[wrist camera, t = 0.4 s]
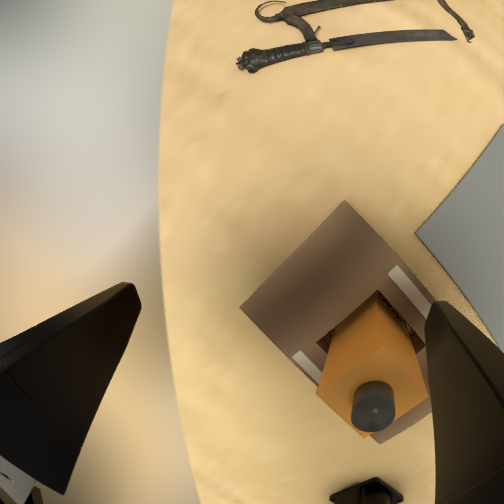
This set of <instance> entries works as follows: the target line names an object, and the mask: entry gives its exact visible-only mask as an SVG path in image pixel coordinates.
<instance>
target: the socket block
mask: <svg viewBox="0 0 504 504" xmlns="http://www.w3.org/2000/svg"><path fill="white" fill-rule="evenodd" d="M377 289H378V290H379V291H380V292H381V293H382V295H383V296H384V297H385V298H386V299H387V300H388V301H389V302H390V303H391V305H392V306H393V307H394V308H395V309H396V310H397V311H398V313H399V314H400V315H401V316H402V317H403V318H404V319H405V321H406V322H407V323H408V324H409V325H410V326H411V328H412V329H413V330H414V331H415V333H414V334H413V335H412V336H410V338H411V341H412V344H413V347H414V350H415V353H416V357H417V360H418V363H419V366H420V369H421V373H422V376H423V380H424V383H425V387H426V390H427V394H428V398H426V399H425V400H424V401H422V402H421V403H420V404H418V405H417V406H415V407H414V408H412V409H411V410H409V411H408V412H406V413H405V414H403V415H402V416H400V417H399V418H397V419H396V420H394V421H393V422H392V423H391V424H390V425H389V426H388V427H386V428H385V429H383V430H381V431H377V432H374V433H372V434H371V435H370V436H371V437H372V438H373V439H374V440H375V441H377V442H378V443H379V444H381V443H383V442H385V441H387V440H388V439H390V438H392V437H394V436H395V435H397V434H399V433H400V432H402V431H404V430H405V429H407V428H408V427H410V426H412V425H413V424H415V423H416V422H418V421H419V420H421V419H422V418H424V417H425V416H427V415H428V414H429V413H431V412H432V406H431V398H430V390H429V383H428V374H427V358H426V344H425V333H424V326H425V322H426V319H427V316H428V313H429V311H430V308H431V305H432V303H433V302H434V301H435V299H434V298H433V297H432V296H431V294H430V293H429V292H428V291H427V289H426V288H425V287H424V286H423V285H422V283H421V282H420V281H419V280H418V279H417V277H416V276H415V275H414V274H413V273H412V272H411V270H410V269H409V268H408V267H407V266H406V265H405V263H404V262H403V261H402V260H401V259H400V258H399V257H398V256H397V254H396V253H395V252H394V251H393V250H392V249H391V248H390V247H389V246H388V245H387V243H386V242H385V241H384V240H383V239H382V238H381V237H380V236H379V235H378V234H377V233H376V232H375V231H374V230H373V229H372V227H371V226H370V225H369V224H368V223H367V222H366V221H365V220H364V219H363V218H362V217H361V216H360V215H359V214H358V213H357V212H356V211H355V210H354V209H353V208H352V207H351V206H350V205H349V204H348V203H347V202H346V201H345V200H344V201H343V202H342V203H341V204H340V205H339V206H338V207H337V208H336V210H335V211H334V212H333V213H332V214H331V215H330V216H329V217H328V218H327V219H326V220H325V221H324V222H323V223H322V224H321V225H320V226H319V227H318V228H317V229H316V230H315V231H314V233H313V234H312V235H311V236H310V237H309V238H308V239H307V240H306V241H305V242H304V243H303V244H302V245H301V246H300V247H299V248H298V249H297V250H296V251H295V252H294V253H293V254H292V255H291V256H290V257H289V258H288V259H287V260H286V261H285V262H284V263H283V264H282V265H281V266H280V267H279V268H278V269H277V270H276V271H275V272H274V273H273V274H272V275H271V276H270V277H269V278H268V279H267V280H266V281H265V282H264V283H263V284H262V285H261V286H260V287H259V288H258V289H257V290H256V291H255V292H254V293H253V294H252V295H251V296H250V297H249V298H248V299H247V300H246V301H245V302H244V303H243V304H242V305H241V306H240V307H239V308H240V309H241V310H242V311H243V312H244V313H245V314H246V315H247V316H248V317H249V318H250V319H251V320H252V321H253V322H254V323H255V324H256V325H257V326H258V328H259V329H260V330H261V331H262V332H263V333H264V334H265V335H266V336H267V337H268V338H269V339H270V340H271V341H272V342H273V343H274V344H275V345H276V346H277V347H278V348H279V349H280V350H281V351H282V352H283V353H284V354H285V355H286V356H287V357H288V358H289V359H290V360H291V361H292V362H293V363H294V364H295V365H296V366H297V367H298V368H299V369H300V370H301V371H302V372H303V373H304V374H305V375H306V376H307V377H308V378H309V379H310V380H311V381H312V382H313V383H314V384H315V385H316V386H317V387H318V386H319V382H320V379H321V376H322V372H323V369H324V365H325V362H326V358H327V355H328V351H329V347H330V343H331V340H332V336H331V335H330V334H329V333H328V332H329V331H331V330H332V329H333V328H334V327H335V326H337V325H338V324H339V323H340V322H341V321H342V320H344V319H345V318H346V317H347V316H348V315H349V314H351V313H352V312H353V311H354V310H355V309H356V308H357V307H359V306H360V305H361V304H362V303H363V302H364V301H365V300H366V299H367V298H369V297H370V296H371V295H372V294H373V293H374V292H375V291H376V290H377Z"/></svg>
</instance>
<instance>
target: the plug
mask: <svg viewBox="0 0 504 504" xmlns="http://www.w3.org/2000/svg"><path fill="white" fill-rule="evenodd" d="M316 394H317V395H318V396H319V397H320V398H321V399H322V400H323V401H324V402H325V403H326V404H327V405H328V406H329V407H330V408H331V409H332V410H334V411H335V412H336V413H337V414H338V415H339V416H340V417H341V418H342V419H343V420H344V421H346V422H347V423H348V424H349V425H350V426H351V427H352V428H353V429H354V430H355V431H357V432H358V433H359V434H360V435H361V436H362V437H363V438H365V437H367V436H369V435H371V434H372V433H374V432H377V431H381V430H383V429H385V428H386V427H388V426H389V425H390V424H391V423H392V422H393V421H394V420H396V419H397V418H399V417H400V416H402V415H403V414H405V413H406V412H408V411H409V410H411V409H412V408H414V407H415V406H417V405H418V404H420V403H421V402H422V401H424V400H425V399H426V398H428V394H427V390H426V387H425V383H424V380H423V376H422V373H421V369H420V366H419V363H418V360H417V357H416V353H415V350H414V347H413V344H412V341H411V338H410V336H409V333H408V330H407V328H406V327H405V326H404V325H403V323H402V322H401V321H400V320H399V319H398V318H397V316H396V315H395V314H394V313H393V312H392V311H391V310H390V309H389V307H388V306H387V305H386V304H385V303H384V302H383V301H382V300H381V299H380V297H379V296H378V295H377V294H376V293H375V292H374V293H373V294H372V295H371V296H370V297H369V298H367V299H366V300H365V301H364V302H363V303H362V304H361V305H360V306H359V307H357V308H356V309H355V310H354V311H353V312H352V313H351V314H349V315H348V316H347V317H346V318H345V319H344V320H342V321H341V322H340V323H339V324H338V325H337V326H335V328H334V332H333V336H332V340H331V343H330V347H329V351H328V355H327V358H326V362H325V365H324V369H323V372H322V376H321V379H320V382H319V386H318V389H317V392H316Z"/></svg>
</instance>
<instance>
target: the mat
mask: <svg viewBox="0 0 504 504" xmlns="http://www.w3.org/2000/svg"><path fill="white" fill-rule="evenodd" d="M415 234H416V236H417V237H418V238H419V239H420V240H421V241H422V242H423V244H424V245H425V246H426V247H427V248H428V249H429V251H430V252H431V253H432V254H433V255H434V257H435V258H436V259H437V260H438V262H439V263H440V264H441V265H442V267H443V268H444V269H445V270H446V272H447V273H448V274H449V276H450V277H451V278H452V279H453V281H454V282H455V283H456V285H457V286H458V287H459V289H460V290H461V291H462V293H463V294H464V296H465V297H466V298H467V300H468V301H469V303H470V304H471V305H472V307H473V308H474V310H475V311H476V313H477V314H478V316H479V317H480V319H481V320H482V322H483V323H484V325H485V326H486V328H487V329H488V331H489V333H490V334H491V336H492V337H493V339H494V341H495V342H496V344H497V345H498V347H499V349H500V350H501V351H502V352H503V353H504V124H503V125H501V127H500V128H499V130H498V131H497V133H496V134H495V135H494V137H493V138H492V140H491V141H490V142H489V144H488V145H487V147H486V148H485V149H484V151H483V152H482V153H481V155H480V156H479V157H478V159H477V160H476V161H475V163H474V164H473V165H472V166H471V168H470V169H469V170H468V172H467V173H466V174H465V175H464V177H463V178H462V179H461V180H460V181H459V183H458V184H457V185H456V186H455V188H454V189H453V190H452V191H451V192H450V194H449V195H448V196H447V197H446V198H445V199H444V201H443V202H442V203H441V204H440V205H439V206H438V207H437V209H436V210H435V211H434V212H433V213H432V214H431V215H430V217H429V218H428V219H427V220H426V221H425V222H424V223H423V224H422V225H421V226H420V227H419V229H418V230H417V231H416V232H415Z"/></svg>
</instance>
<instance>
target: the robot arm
mask: <svg viewBox="0 0 504 504" xmlns="http://www.w3.org/2000/svg"><path fill="white" fill-rule="evenodd" d="M140 311H141V301H140V298H139V296H138V293H137V290H136V287H135V285H134V284H133V283H128V282H121V283H119V284H117V285H115V286H113V287H111V288H109V289H107V290H105V291H103V292H101V293H99V294H96V295H94V296H92V297H90V298H88V299H87V300H85V301H83V302H80V303H78V304H76V305H75V306H73V307H71V308H69V309H67V310H65V311H63V312H61V313H59V314H57V315H55V316H53V317H51V318H49V319H47V320H46V321H43V322H41V323H39V324H37V325H36V326H34V327H32V328H30V329H28V330H26V331H24V332H22V333H20V334H18V335H16V336H14V337H12V338H10V339H8V340H6V341H3V342H1V343H0V504H43V500H42V496H41V492H40V489H39V488H38V487H37V486H35V483H36V481H39V482H40V483H42V484H43V485H45V486H47V487H49V488H50V489H52V490H54V491H56V492H58V493H59V494H61V495H64V493H65V492H66V489H67V486H68V483H69V481H70V478H71V475H72V472H73V470H74V467H75V464H76V462H77V458H78V456H79V454H80V451H81V447H82V446H83V443H84V441H85V438H86V436H87V433H88V431H89V429H90V426H91V424H92V421H93V419H94V417H95V414H96V412H97V410H98V408H99V405H100V403H101V401H102V398H103V396H104V394H105V392H106V390H107V388H108V385H109V383H110V381H111V379H112V377H113V374H114V372H115V370H116V368H117V366H118V364H119V362H120V360H121V358H122V356H123V354H124V351H125V349H126V347H127V345H128V342H129V340H130V337H131V334H132V332H133V329H134V326H135V324H136V321H137V319H138V316H139V314H140ZM424 333H425V344H426V358H427V374H428V383H429V390H430V398H431V406H432V416H433V427H434V441H435V465H436V488H435V504H504V353H503V352H502V351H501V350H500V349H499V348H498V347H497V346H496V345H495V344H494V343H493V342H492V341H491V340H490V339H489V338H488V337H487V336H485V335H484V334H483V333H482V332H481V331H480V330H479V329H478V328H477V327H476V326H475V325H473V324H472V323H471V322H470V321H469V320H468V319H467V318H466V317H464V316H463V315H462V314H461V313H460V312H459V311H458V310H456V309H455V308H454V307H453V306H452V305H451V304H449V303H448V302H447V301H434V302H433V303H432V305H431V308H430V311H429V313H428V316H427V319H426V322H425V326H424ZM329 500H330V501H331V502H333V503H334V504H398V503H400V502H402V501H403V496H402V495H400V494H399V493H397V492H396V491H395V490H393V489H392V488H390V487H389V486H388V485H386V484H385V483H384V482H382V481H381V480H380V479H378V478H374V479H371V480H369V481H367V482H364V483H362V484H359V485H357V486H355V487H352V488H350V489H347V490H344V491H342V492H339V493H336V494H334V495H331V496H330V498H329Z"/></svg>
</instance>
